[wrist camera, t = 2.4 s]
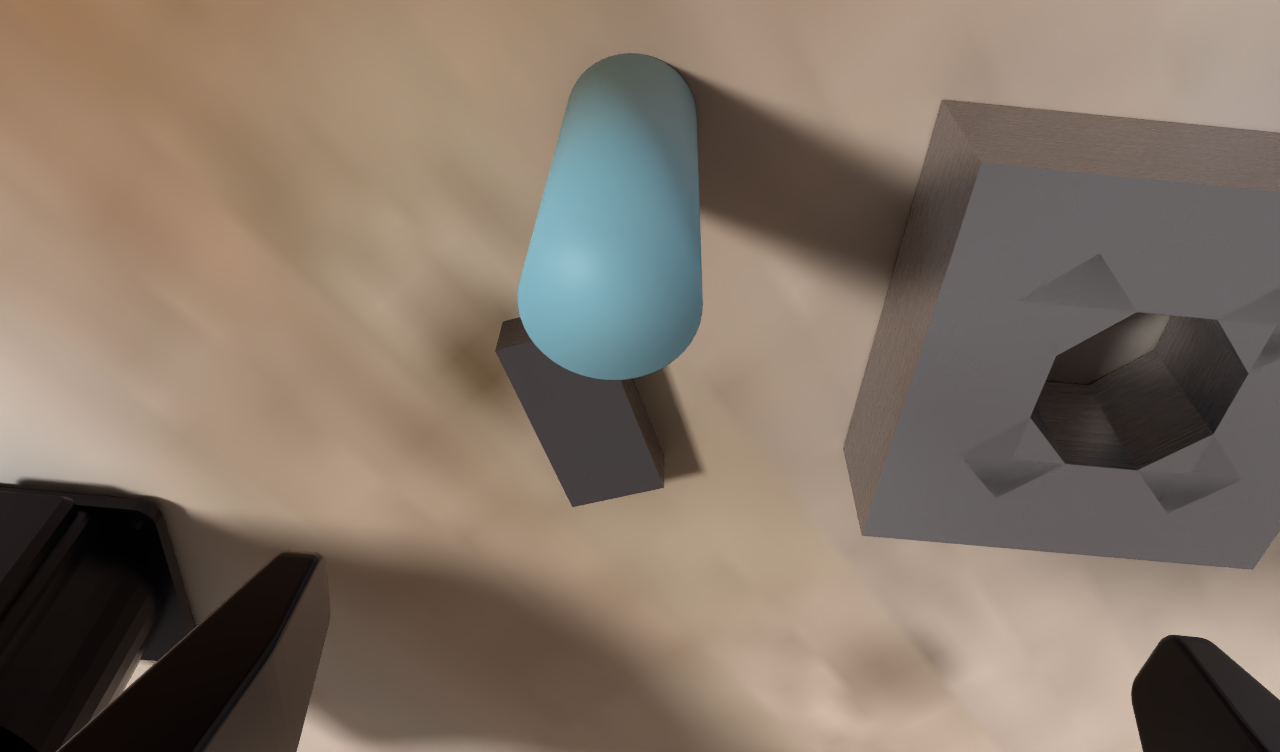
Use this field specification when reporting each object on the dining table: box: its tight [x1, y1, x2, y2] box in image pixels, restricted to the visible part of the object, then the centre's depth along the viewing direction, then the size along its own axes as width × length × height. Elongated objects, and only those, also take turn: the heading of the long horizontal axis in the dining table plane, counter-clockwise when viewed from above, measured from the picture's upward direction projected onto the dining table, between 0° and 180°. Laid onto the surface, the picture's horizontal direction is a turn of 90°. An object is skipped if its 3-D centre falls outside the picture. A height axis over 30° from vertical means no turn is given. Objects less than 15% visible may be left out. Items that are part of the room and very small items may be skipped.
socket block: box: [843, 100, 1280, 570], centre depth 20 cm, size 9×9×3 cm
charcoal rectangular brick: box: [495, 317, 664, 507], centre depth 23 cm, size 5×2×2 cm, turn 18°
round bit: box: [518, 53, 703, 380], centre depth 16 cm, size 3×3×7 cm
